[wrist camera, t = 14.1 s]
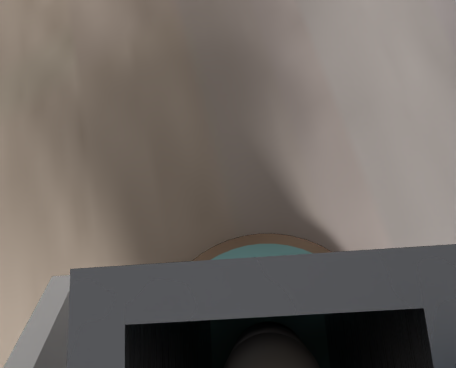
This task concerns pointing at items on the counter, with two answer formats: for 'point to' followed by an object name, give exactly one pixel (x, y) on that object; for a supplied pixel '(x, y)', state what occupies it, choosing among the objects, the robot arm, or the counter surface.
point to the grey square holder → (269, 307)
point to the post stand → (268, 326)
